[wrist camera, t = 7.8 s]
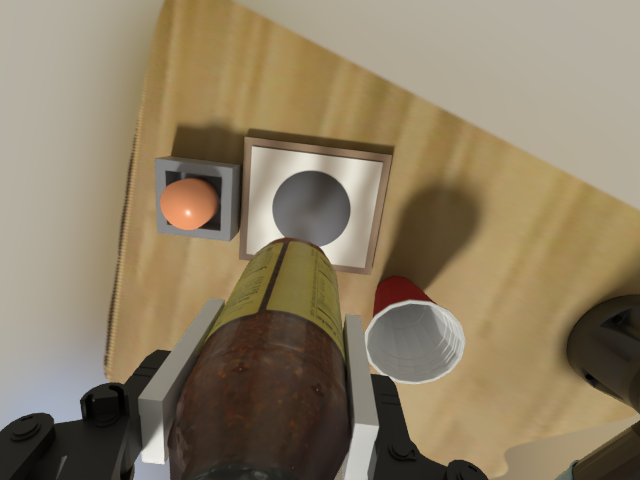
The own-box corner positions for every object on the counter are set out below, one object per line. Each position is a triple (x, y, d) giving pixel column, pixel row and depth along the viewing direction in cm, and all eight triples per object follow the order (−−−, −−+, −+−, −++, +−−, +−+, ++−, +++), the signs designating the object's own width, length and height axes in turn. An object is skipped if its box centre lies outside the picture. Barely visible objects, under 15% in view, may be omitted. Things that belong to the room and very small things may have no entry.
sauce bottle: (253, 313, 25) (-16, 918, 6) (246, 232, 23) (-201, 743, 4) (342, 313, 24) (369, 953, 5) (342, 232, 22) (387, 784, 3)
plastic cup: (351, 264, 46) (358, 308, 34) (430, 254, 45) (464, 296, 34) (360, 331, 49) (369, 392, 38) (433, 323, 48) (466, 382, 37)
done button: (220, 179, 40) (210, 184, 36) (219, 224, 41) (209, 232, 38) (173, 174, 40) (159, 178, 36) (174, 219, 41) (160, 226, 38)
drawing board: (390, 154, 41) (392, 155, 40) (369, 272, 46) (370, 275, 45) (246, 136, 41) (243, 136, 40) (240, 256, 46) (238, 260, 45)
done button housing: (241, 164, 42) (232, 168, 38) (238, 232, 45) (230, 241, 41) (170, 156, 42) (154, 158, 38) (172, 224, 45) (157, 232, 41)
